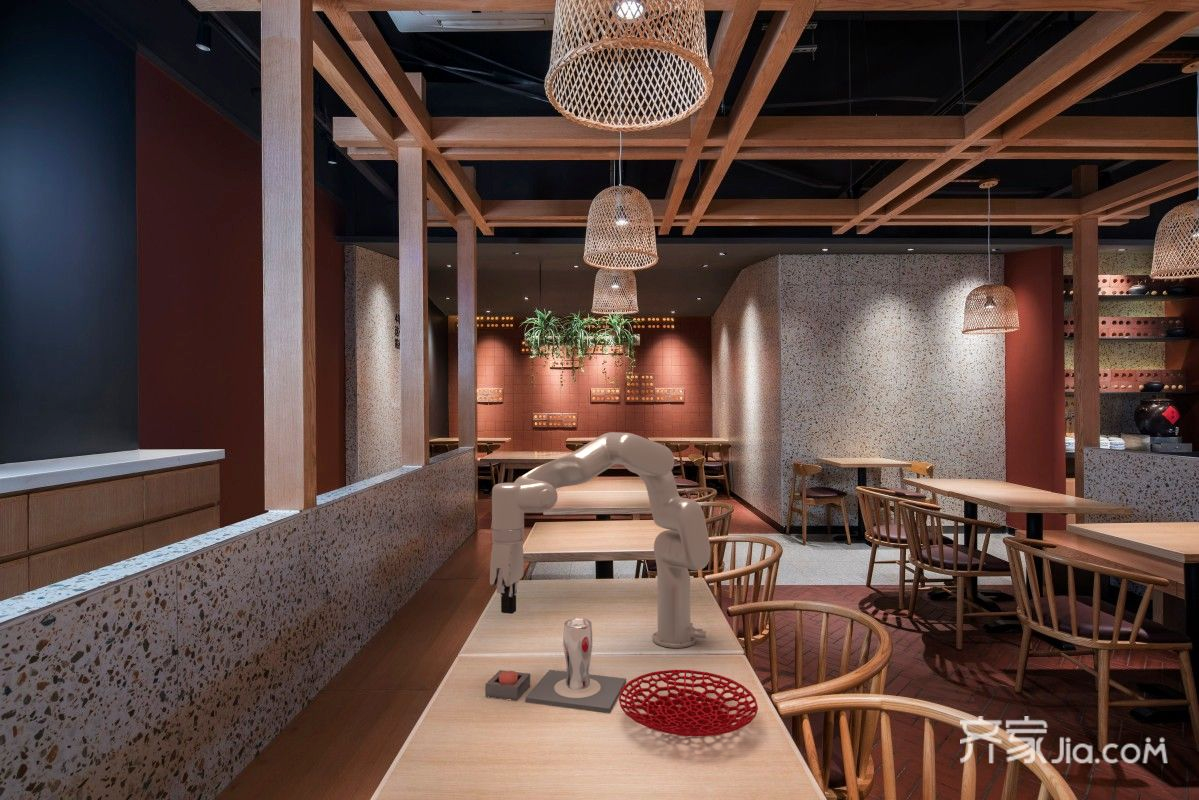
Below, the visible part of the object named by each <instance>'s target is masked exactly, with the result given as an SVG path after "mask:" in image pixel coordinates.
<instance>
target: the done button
mask: <svg viewBox="0 0 1199 800" xmlns="http://www.w3.org/2000/svg"><path fill="white" fill-rule="evenodd" d="M517 672H518V671H514V670H504V672H501V673H500V674H499V683H506V684H515V683H516V682H517V681H518V674H517Z"/></svg>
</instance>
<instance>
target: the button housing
mask: <svg viewBox="0 0 1199 800" xmlns="http://www.w3.org/2000/svg"><path fill="white" fill-rule="evenodd" d="M504 671H505V670H503V669H499V670H498V671H497V672H496V673H495V674H494V675H493V676H492V677H491V678H489V679H488V680H487V682H486V683H485V689H484V690H485V692H484V693H485V696H489V697H488V698H491V697H496V698H495V699H499V698H502V699H501V700H506V699H511V700H510V701H514V700H515V702H518V701H519V700H520V698H521V697H522V696H523V695H524V694H525V693H526V692H527V691H528V690H529V688H530V687H531V673H528V672H519V671H516V672H517V674H518V681H517V682H516V683H515V684H506V683H499V674H500V673H501V672H504ZM525 691H526V692H525ZM524 692H525V693H524ZM517 700H518V701H517Z"/></svg>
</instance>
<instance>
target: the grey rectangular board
mask: <svg viewBox="0 0 1199 800" xmlns="http://www.w3.org/2000/svg"><path fill="white" fill-rule="evenodd" d="M566 677H567V671H566V670H565V671H563V670H558V669H557V670H555V669H548V671H547V672H546V673H545V674H544V675H543V676H542V677H541V679H540V680H539V681H538V682H537V684H535V686H534V687H533V688H532V689H531V690H530V691H529V693H528V694H527V695H526V696H525V697H524V702H525V703H530V704H536V705H537V704H538V705H545V706H552V707H561V708H567V709H575V710H582V711H583V710H584V711H591V712H598V713H605V714H610V713H611V711H612V710H613V708H614V706H615V704H616V702H617V700H619V695H620V691H621V690H622V688H623V687H624V686H625V685H626V684H627V678H625V677H624V678H623V677H615V676H606V675H599V674H590V673H589V677H590V682H591V687H590V688H589V689H588V690H586V691H582V692H573V691H569V690H567V689H566V687H565V683H566Z"/></svg>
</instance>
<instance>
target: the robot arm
mask: <svg viewBox="0 0 1199 800" xmlns="http://www.w3.org/2000/svg"><path fill="white" fill-rule="evenodd" d="M614 465H622V466H624V467H625V468H626V469H627V471H629V472H631V473H634V474H636V475H638V476H639V478H640V479H641V480H642V481H643V483H644V486H645V487H646V491H647V495H648V496H647V497H648V500H649V505H650V512H651V515H652V519H653V521H654V524H656V526H657V527H659V528H661V529H665V530H663V531H661V532H660V533H658V534H657V536H656V537H655V539H654V542H653V553H654V554H653V555H654V558H655V563H656V572H657V573H656V574H657V577H656V579H657V590H656V591H657V630H656V631H655V632H653V634H652V635H651V636H652V641H653V643H654V644H657V645H659V646H661V647H666V648H670V649H671V648H673V649H681V648H687V647H691V646H693V645H694V644H696V642H697V638H700V639H707V631H706V630H704V629H703V628H695V627H693V626H694V624H693V622H691V620H692V619H691V576H690V572H689V570H691V571H701V570H702V569H704V568H706V567H707V565H708V563H709V562H710V559H711V545H710V539H709V531H708V527H707V522H706V517H705V513H704V511H703V509H702V507H701V505H700V504H699V503H698V502H697V501H696V500H694V499H691V498H686V497H682V496H680V494H679V491H678V487H677V482H676V480H675V476H674V474H673V469H674V466H675V456H674V454H673V452H672V450H671V449H670V448H669V447H668V446H665V445H664V444H661V443H659V442H656V441H653V440H651V439H648V438H645V437H644V436H640V435H637V434H635V433H630V432H616V431H615V432H614V431H612V432H611V431H609V432H606V433H603V434H601V435H599V436H598V437H596V438H594V439H593V440H591V441H589V442H588V443H586V444H584V445H583V446H581V447H580V448H577V449H576V450H575V451H573V452H571V453H570V454H567V455H565V456H562V457H558V458H556V459H554V460H551V461H549V462H545V463H543V464H541V465H538V466H537V467H534V468H533V469H531V470H529V471H528V472H526V473H525V474H523V475H521V476H520V477H518V478H517V479H516V480H515V481H513V482H500V483H497V484H495V485H493V487H492V489H491V508H492V509H491V513H492V514H491V515H492V516H491V523H492V524H491V527H492V528H491V530H492V532H491V533H492V534H491V537H492V538H491V539H492V540H491V542H492V546H491V556H490V564H489V565H490V567H489V568H490V569H489V583H490V586H495V585H496V593H498V594H499V595H500V612H501V613H502V614H509V615H510V614H514V613H516V612H517V589H518V583H519V582H520V579H522V578H523V577H524V572H525V568H524V567H525V564H524V562H525V560H524V558H525V557H524V545H523V543H524V542H525V513H545V512H548V511H549V510H551V509H553V508H554V507H555V505H556V504H557V502H558V492H557V491H558V490H557V489H559V488H565V487H571V486H578V485H583V484H585V483H588V482H590V481H591V480H592V479H594V478H596V477H597V476H598V475H600V474H602V473H603V472H605V471H607V470H608V469H610V468H611V467H613V466H614Z"/></svg>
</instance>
